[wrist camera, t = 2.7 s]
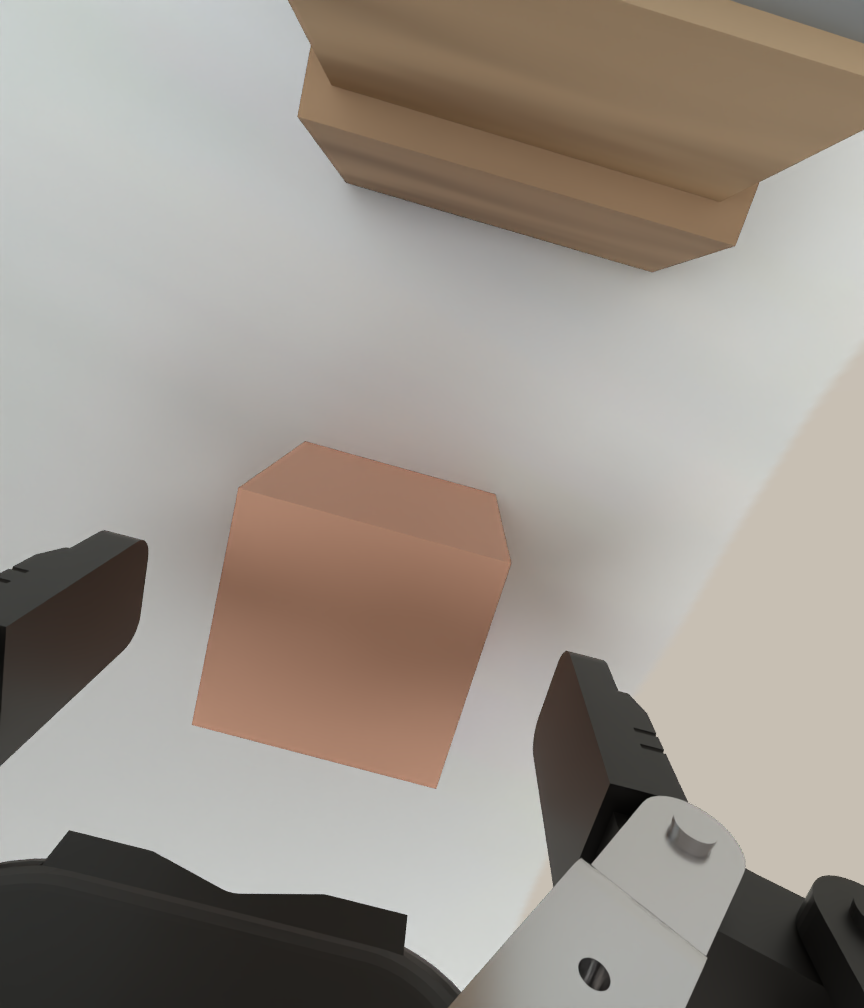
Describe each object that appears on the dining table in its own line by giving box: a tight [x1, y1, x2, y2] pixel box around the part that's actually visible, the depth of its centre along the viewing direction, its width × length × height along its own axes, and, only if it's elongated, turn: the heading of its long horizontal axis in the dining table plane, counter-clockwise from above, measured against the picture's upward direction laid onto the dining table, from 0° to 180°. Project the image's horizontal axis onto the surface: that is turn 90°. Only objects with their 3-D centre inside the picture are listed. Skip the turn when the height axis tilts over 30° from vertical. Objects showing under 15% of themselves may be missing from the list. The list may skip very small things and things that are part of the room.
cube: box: [192, 441, 511, 789], centre depth 15 cm, size 6×6×6 cm
